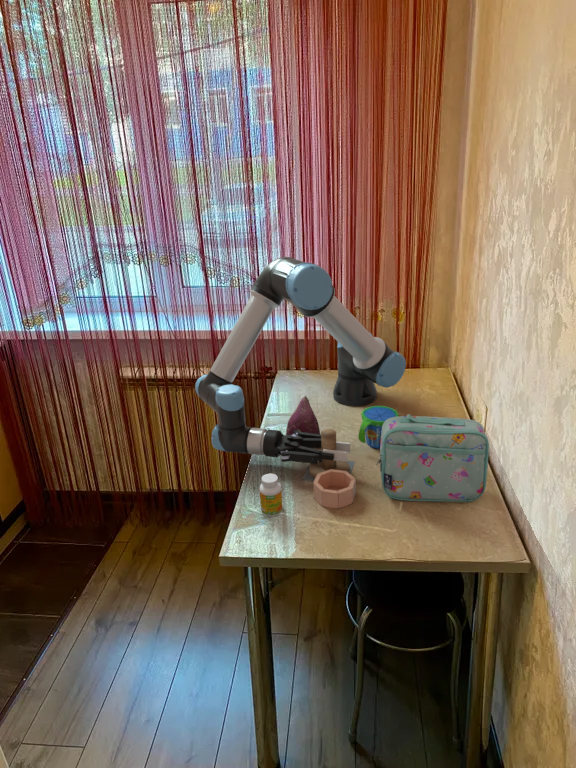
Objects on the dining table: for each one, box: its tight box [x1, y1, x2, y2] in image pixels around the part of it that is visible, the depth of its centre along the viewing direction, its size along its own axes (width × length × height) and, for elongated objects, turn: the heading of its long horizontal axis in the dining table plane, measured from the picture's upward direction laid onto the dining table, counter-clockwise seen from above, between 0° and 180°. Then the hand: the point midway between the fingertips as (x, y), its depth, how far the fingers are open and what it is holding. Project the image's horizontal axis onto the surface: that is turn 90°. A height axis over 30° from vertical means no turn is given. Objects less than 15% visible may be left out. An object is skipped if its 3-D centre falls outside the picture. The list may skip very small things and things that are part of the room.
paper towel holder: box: [308, 428, 349, 478], centre depth 151 cm, size 11×11×12 cm
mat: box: [302, 460, 356, 483], centre depth 153 cm, size 12×12×1 cm
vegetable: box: [285, 395, 321, 442], centre depth 170 cm, size 10×10×15 cm
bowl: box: [313, 469, 357, 509], centre depth 142 cm, size 10×10×5 cm
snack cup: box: [358, 405, 400, 450], centre depth 164 cm, size 16×10×10 cm
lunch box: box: [376, 413, 490, 503], centre depth 138 cm, size 27×10×21 cm, turn 82°
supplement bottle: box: [259, 472, 284, 518], centre depth 137 cm, size 5×5×10 cm
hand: (348, 452), depth 149 cm, fingers closed on paper towel holder, 4 cm apart
